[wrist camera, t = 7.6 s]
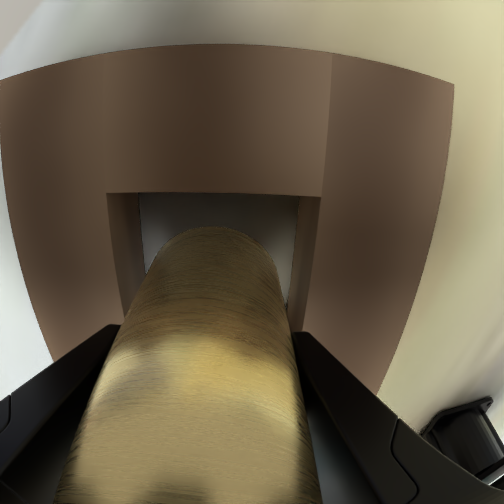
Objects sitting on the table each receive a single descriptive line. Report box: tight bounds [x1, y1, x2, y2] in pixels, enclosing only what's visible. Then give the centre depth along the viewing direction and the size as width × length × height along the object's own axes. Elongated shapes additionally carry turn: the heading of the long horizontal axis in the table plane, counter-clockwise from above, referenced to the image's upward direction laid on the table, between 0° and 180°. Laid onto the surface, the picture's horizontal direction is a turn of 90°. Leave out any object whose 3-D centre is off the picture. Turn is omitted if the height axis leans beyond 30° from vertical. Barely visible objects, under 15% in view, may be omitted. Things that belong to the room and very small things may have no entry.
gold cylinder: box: [52, 226, 323, 504], centre depth 6 cm, size 4×4×9 cm
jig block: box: [0, 44, 454, 395], centre depth 11 cm, size 14×14×3 cm
